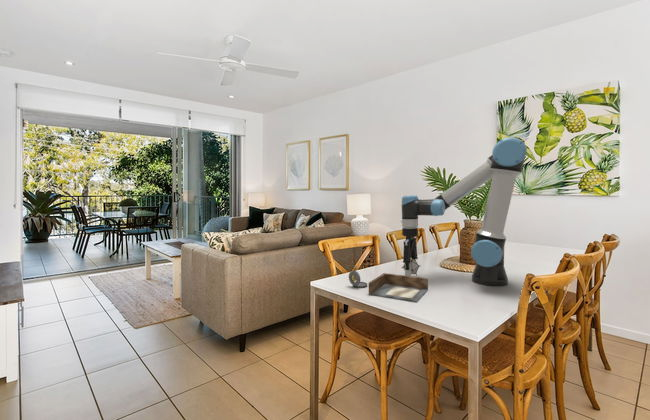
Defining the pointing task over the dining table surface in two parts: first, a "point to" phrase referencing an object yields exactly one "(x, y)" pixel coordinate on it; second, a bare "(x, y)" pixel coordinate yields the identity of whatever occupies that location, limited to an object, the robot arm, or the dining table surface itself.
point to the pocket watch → (357, 278)
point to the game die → (413, 266)
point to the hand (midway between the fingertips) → (410, 274)
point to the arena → (399, 287)
